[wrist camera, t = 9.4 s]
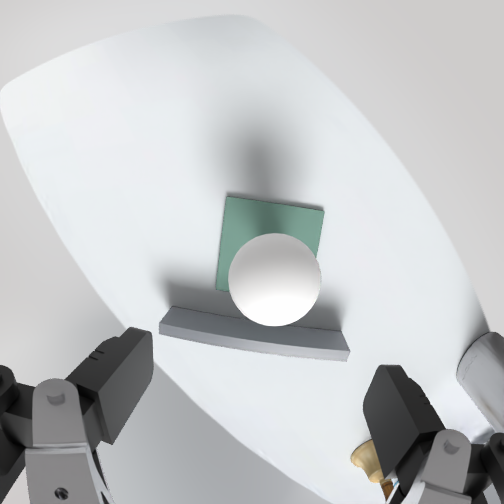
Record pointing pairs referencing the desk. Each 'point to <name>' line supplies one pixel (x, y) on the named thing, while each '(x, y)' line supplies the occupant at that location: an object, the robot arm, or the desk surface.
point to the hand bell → (371, 466)
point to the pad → (263, 228)
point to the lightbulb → (274, 279)
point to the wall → (254, 335)
